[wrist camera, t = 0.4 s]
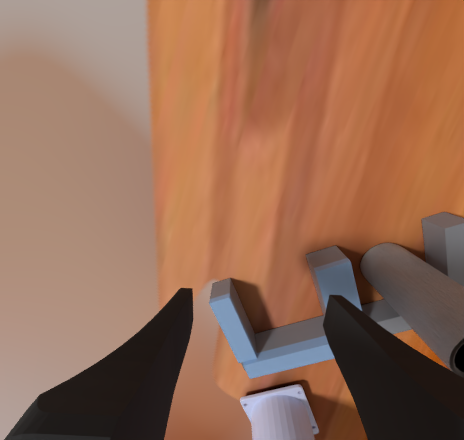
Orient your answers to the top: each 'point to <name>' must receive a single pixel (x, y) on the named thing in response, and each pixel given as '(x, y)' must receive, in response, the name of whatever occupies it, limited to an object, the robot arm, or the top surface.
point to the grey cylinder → (420, 299)
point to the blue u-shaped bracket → (295, 355)
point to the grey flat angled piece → (437, 255)
